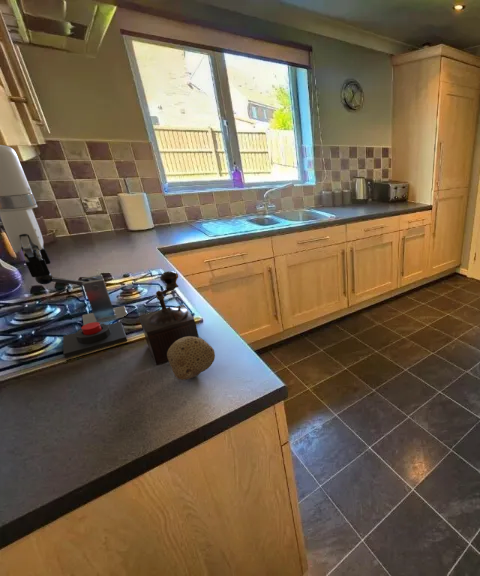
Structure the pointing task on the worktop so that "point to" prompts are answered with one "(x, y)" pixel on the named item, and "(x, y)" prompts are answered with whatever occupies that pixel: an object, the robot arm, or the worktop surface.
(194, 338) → the natural sponge
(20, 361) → the worktop surface
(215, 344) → the worktop surface
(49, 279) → the switch lever
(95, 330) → the stop button
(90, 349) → the control block
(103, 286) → the switch bracket
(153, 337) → the manual coffee grinder
